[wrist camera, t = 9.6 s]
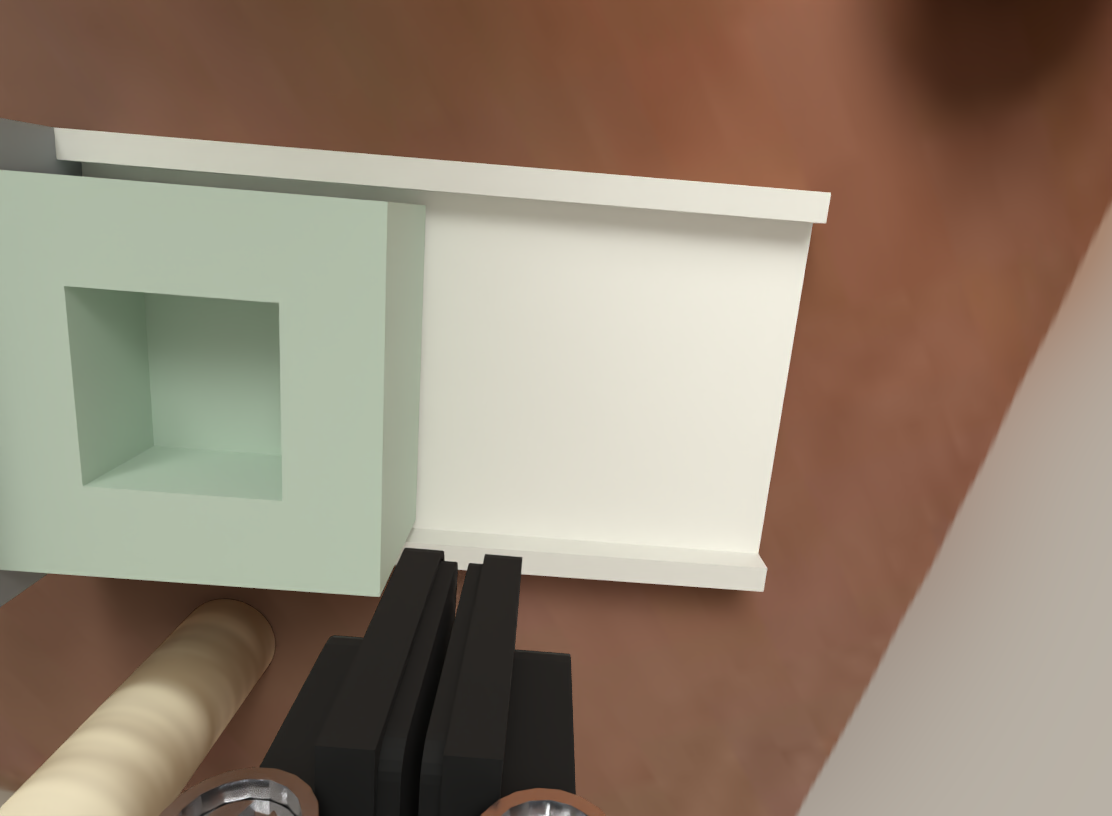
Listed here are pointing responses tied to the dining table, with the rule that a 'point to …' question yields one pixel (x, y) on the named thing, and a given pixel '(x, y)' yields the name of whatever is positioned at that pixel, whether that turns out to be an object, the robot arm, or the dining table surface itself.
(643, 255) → the rail base
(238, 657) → the dowel
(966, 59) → the dining table surface
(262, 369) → the slide block
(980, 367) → the dining table surface
